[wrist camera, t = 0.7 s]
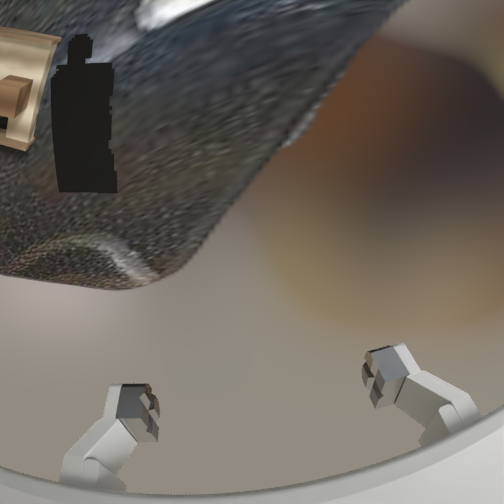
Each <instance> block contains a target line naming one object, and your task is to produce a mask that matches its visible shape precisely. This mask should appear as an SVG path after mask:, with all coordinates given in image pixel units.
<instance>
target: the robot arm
mask: <svg viewBox="0 0 504 504" xmlns="http://www.w3.org/2000/svg"><path fill="white" fill-rule="evenodd" d="M365 360H366V362H365V364H364V365H363V366H362V379H363V382H364V385H365V387H366V388H368V389H369V390H371V393H370V399H371V401H372V403H373V405H374V408H375V409H377V408H381V407H384V406H388V405H392V404H394V405H395V406H397V407H398V408H399V409H401V410H402V411H403V412H405V413H406V414H407V415H409V416H410V417H412V418H413V419H414V420H415V421H417V422H418V423H419V424H421V425H422V426H423V427H425V428H426V429H425V431H424V432H423V434H422V435H421V437H420V438H419V442H420V445H421V447H419V448H417V449H415V450H412V451H409V452H407V453H404V454H402V455H399V456H396V457H393V458H391V459H388V460H385V461H382V462H379V463H376V464H373V465H370V466H366V467H363V468H360V469H356V470H353V471H350V472H346V473H342V474H339V475H335V476H330V477H326V478H322V479H318V480H313V481H308V482H304V483H298V484H293V485H288V486H281V487H275V488H268V489H261V490H253V491H244V492H234V493H220V494H197V495H162V494H141V493H128V492H126V484H125V483H124V482H122V481H121V480H120V479H119V478H118V477H116V476H115V475H116V474H117V473H118V471H119V470H120V468H121V467H122V465H123V464H124V462H125V461H126V460H127V458H128V457H129V455H130V454H131V452H132V451H133V449H134V448H135V447H136V445H137V444H138V443H137V442H158V431H159V427H158V426H157V424H156V421H157V420H158V419H159V417H160V416H159V415H160V408H159V402H158V399H157V397H156V396H155V395H154V394H152V393H151V392H152V388H151V387H150V385H149V384H111V386H110V387H109V390H108V394H107V399H106V403H105V408H104V412H103V417H102V419H101V418H99V419H98V420H97V421H96V422H95V423H94V424H93V425H92V426H91V427H90V429H89V430H88V431H87V432H86V433H85V434H84V435H83V436H82V437H81V438H80V439H79V440H78V441H77V442H76V443H75V444H74V445H73V446H72V447H71V449H70V450H69V451H68V452H67V453H66V454H65V455H64V460H63V464H62V469H61V474H60V480H59V482H56V481H51V480H47V479H42V478H39V477H35V476H31V475H27V474H24V473H20V472H17V471H13V470H11V469H8V468H4V467H1V466H0V504H504V405H502V406H501V407H499V408H497V409H496V410H494V411H492V412H490V413H489V414H487V415H485V416H483V417H482V416H481V414H480V412H479V411H478V409H477V407H476V406H475V404H474V403H473V401H472V399H471V397H470V396H469V394H468V393H466V392H464V391H462V390H460V389H458V388H456V387H454V386H452V385H450V384H449V383H447V382H445V381H443V380H441V379H439V378H438V377H436V376H434V375H432V374H430V373H428V372H426V371H425V370H424V371H421V370H420V368H419V367H418V365H417V363H416V362H415V360H414V359H413V357H412V355H411V354H410V352H409V351H408V349H407V347H406V346H405V344H404V343H402V342H400V343H397V344H393V345H390V346H389V345H388V346H385V347H382V348H378V349H374V350H370V351H367V352H366V354H365Z"/></svg>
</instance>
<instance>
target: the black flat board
mask: <svg viewBox="0 0 504 504" xmlns="http://www.w3.org/2000/svg"><path fill="white" fill-rule="evenodd" d="M92 44H93V40H90V37H87V34H81V35H75V38H72V41H69V49H68V65H57V69H58V68H59V71H56V74H54V77H51V110H52V130H53V143H54V154H55V164H56V172H57V180H58V187H59V192H106V193H117V172H114V154H111V149H108V139H111V119H112V115H109V109H112V106H109V97H110V95H113V81H114V69H111V68H112V63H87V64H85V58H91V55H92Z"/></svg>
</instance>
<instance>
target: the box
mask: <svg viewBox="0 0 504 504" xmlns="http://www.w3.org/2000/svg"><path fill="white" fill-rule="evenodd" d="M61 39H62V37H58V36H53V35H48V34H43V33H38V32H33V31H27V30H21V29H14V28H7V27H0V80H2V79H3V78H5V77H7V76H8V75H14V76H19V77H23V78H28V79H32V80H33V84H32V88H31V92H30V96H29V101H28V105H27V108H26V109H25V110H23V111H22V112H21V113H20V114H19V115H18V116H17V117H15V118H14V119H13V118H9V117H8V124H7V130H6V129H2V128H0V144H1V145H5V146H8V147H12V148H16V149H19V150H23V151H26V150H27V149H28V148H29V147H30V146H31V144H32V143H33V142H34V140H35V137H33V135H34V130H35V125H36V120H37V115H38V111H39V106H40V102H41V98H42V94H43V90H44V86H45V83H46V79H47V76H48V72H49V69H50V65H51V62H52V59H53V56H54V53H55V50H56V47H57V44H58V43H59V42H61Z"/></svg>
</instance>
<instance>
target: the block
mask: <svg viewBox="0 0 504 504" xmlns="http://www.w3.org/2000/svg"><path fill="white" fill-rule="evenodd" d="M32 84H33V80H32V79H28V78H23V77H19V76H14V75H8V76H7V77H5V78H3V79H2V80H0V115H1V116H5V117H9V118H13V119H14V118H15V117H17V116H18V115H19V114H20V113H21V112H22V111H23V110H25V109H26V108H27V105H28V101H29V96H30V92H31V88H32Z"/></svg>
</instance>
